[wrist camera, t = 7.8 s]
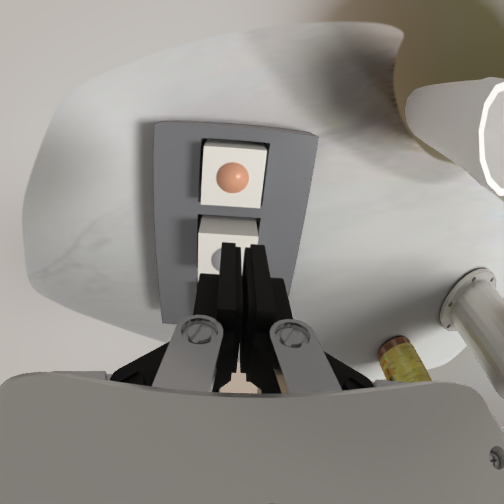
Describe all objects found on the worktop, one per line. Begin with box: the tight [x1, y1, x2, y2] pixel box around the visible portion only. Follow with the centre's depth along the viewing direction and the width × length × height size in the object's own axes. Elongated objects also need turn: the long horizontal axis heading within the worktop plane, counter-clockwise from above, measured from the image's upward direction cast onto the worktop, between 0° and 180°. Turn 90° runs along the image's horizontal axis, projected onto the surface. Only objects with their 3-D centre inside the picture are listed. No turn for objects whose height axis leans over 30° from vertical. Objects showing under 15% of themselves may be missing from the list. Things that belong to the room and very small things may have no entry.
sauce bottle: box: [378, 336, 432, 382], centre depth 35 cm, size 6×6×20 cm
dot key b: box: [201, 139, 267, 208], centre depth 25 cm, size 5×5×4 cm
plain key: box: [198, 214, 259, 281], centre depth 28 cm, size 5×5×4 cm
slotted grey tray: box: [153, 121, 319, 324], centre depth 30 cm, size 14×22×3 cm, turn 174°
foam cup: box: [405, 77, 504, 196], centre depth 20 cm, size 10×9×13 cm
